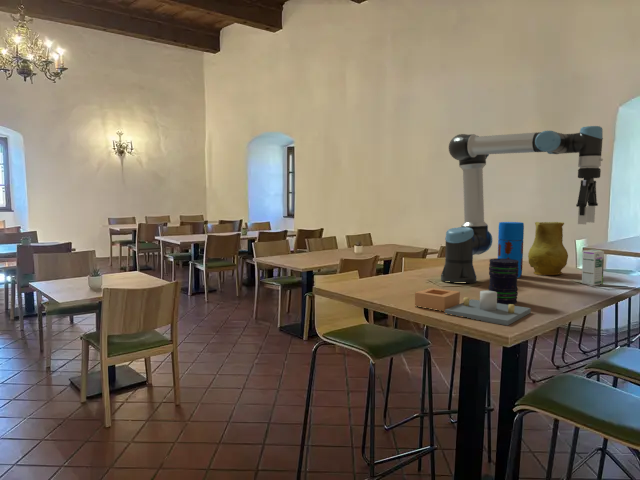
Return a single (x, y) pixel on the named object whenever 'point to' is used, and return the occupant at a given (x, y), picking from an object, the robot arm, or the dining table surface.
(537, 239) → the yellow rounded vessel
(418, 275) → the dining table surface
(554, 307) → the dining table surface
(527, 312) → the post board
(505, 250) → the thermos
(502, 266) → the storage jar
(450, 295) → the square frame
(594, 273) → the syrup box
